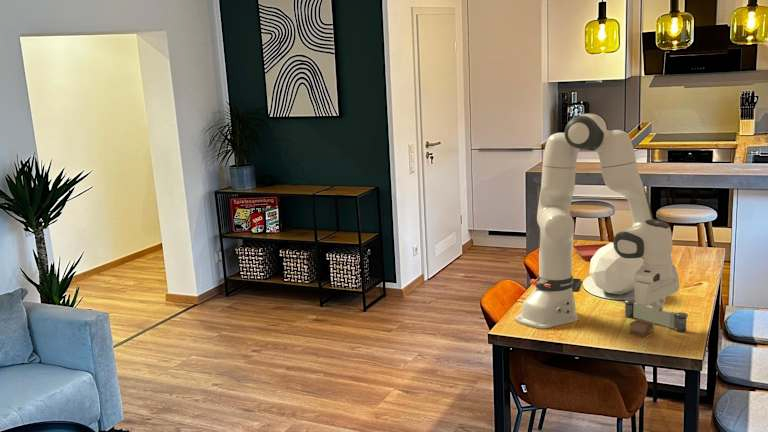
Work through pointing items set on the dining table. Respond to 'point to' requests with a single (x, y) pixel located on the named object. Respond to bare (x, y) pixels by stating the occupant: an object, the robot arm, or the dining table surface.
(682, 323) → the gate posts
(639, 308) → the bar
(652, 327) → the walnut block
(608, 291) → the geometric orb
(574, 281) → the phone
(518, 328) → the dining table surface
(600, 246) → the plant saucer
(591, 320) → the dining table surface
